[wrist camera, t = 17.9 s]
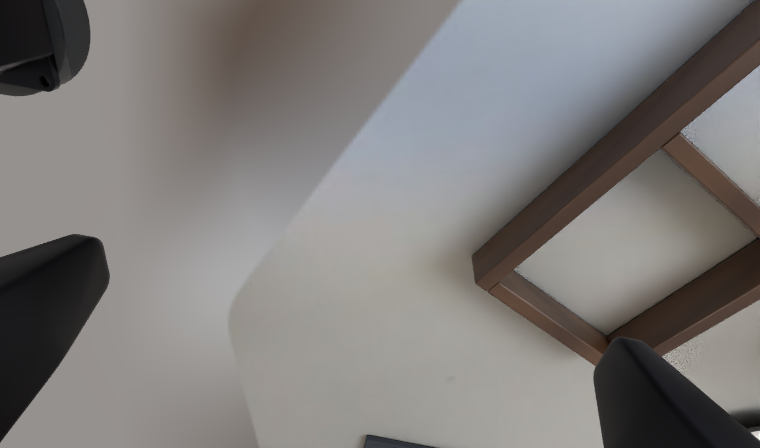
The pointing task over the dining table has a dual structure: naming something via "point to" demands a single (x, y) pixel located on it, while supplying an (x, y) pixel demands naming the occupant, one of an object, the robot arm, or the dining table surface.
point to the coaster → (389, 443)
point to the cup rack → (609, 166)
